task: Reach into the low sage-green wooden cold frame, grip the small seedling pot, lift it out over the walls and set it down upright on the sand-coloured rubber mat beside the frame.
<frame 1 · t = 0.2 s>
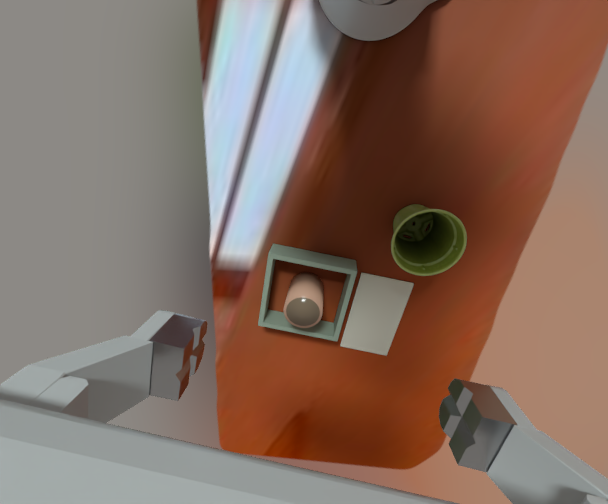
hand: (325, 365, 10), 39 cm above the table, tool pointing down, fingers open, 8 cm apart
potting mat: (374, 316, 55), on the table
seedling pot: (304, 298, 50), in the cold frame
cold frame: (306, 287, 54), on the table
plant pot: (412, 223, 48), on the table
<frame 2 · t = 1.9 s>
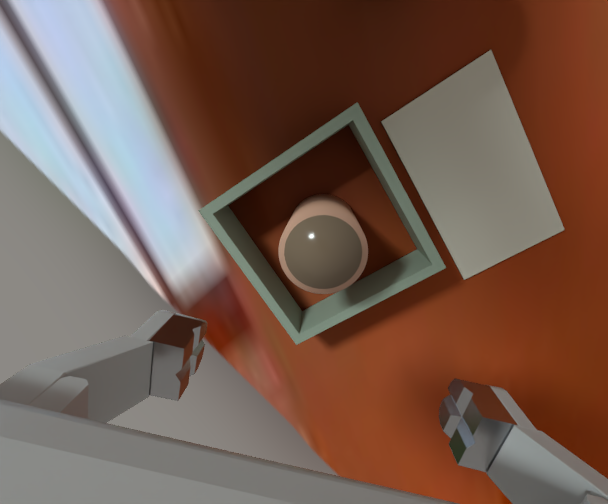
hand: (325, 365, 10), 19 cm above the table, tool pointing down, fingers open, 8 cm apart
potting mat: (475, 177, 25), on the table
seedling pot: (322, 238, 24), in the cold frame
cold frame: (323, 227, 28), on the table
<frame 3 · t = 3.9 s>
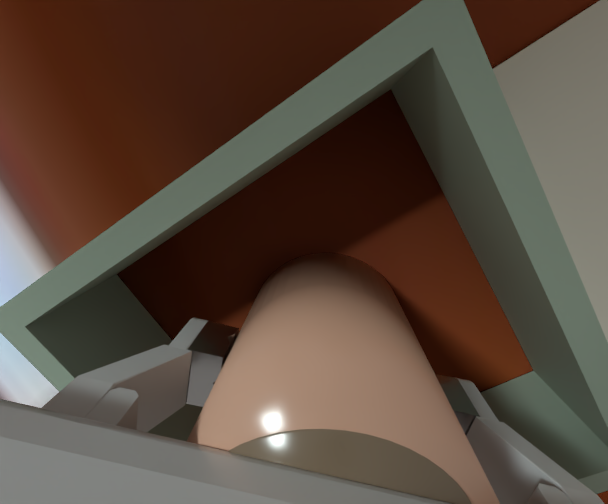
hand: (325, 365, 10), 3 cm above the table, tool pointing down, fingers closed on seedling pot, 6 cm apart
seedling pot: (325, 389, 9), in the cold frame, touching gripper
cold frame: (325, 322, 12), on the table
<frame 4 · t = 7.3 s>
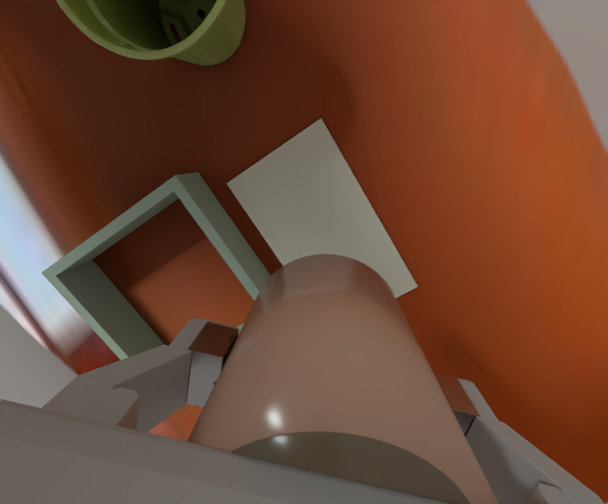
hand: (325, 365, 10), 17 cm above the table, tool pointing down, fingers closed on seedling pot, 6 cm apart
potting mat: (325, 236, 26), on the table
seedling pot: (325, 391, 9), point 18 cm above the table, touching gripper
cold frame: (186, 281, 28), on the table
plant pot: (206, 20, 22), on the table
when the fingers open (5 cm above the table, at t = 10.3 s): seedling pot drops 2 cm, resting on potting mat.
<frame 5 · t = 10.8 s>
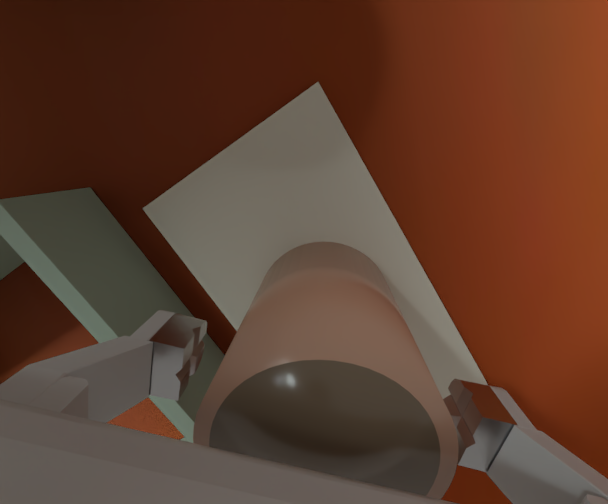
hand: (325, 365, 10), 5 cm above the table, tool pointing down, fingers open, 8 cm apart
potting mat: (326, 302, 14), on the table
seedling pot: (323, 354, 11), resting on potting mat
cold frame: (89, 369, 16), on the table
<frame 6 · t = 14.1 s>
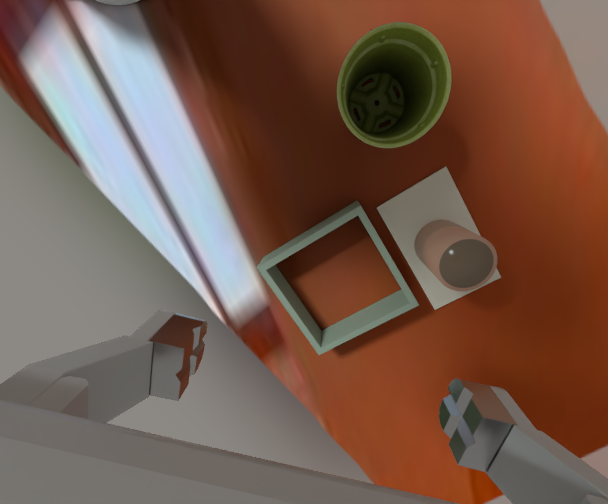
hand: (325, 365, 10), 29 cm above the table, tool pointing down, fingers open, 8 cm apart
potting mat: (439, 242, 38), on the table
seedling pot: (451, 252, 34), resting on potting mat
cold frame: (336, 274, 40), on the table
plant pot: (376, 105, 34), on the table
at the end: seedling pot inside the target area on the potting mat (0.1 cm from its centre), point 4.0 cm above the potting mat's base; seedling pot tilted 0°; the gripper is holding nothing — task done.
